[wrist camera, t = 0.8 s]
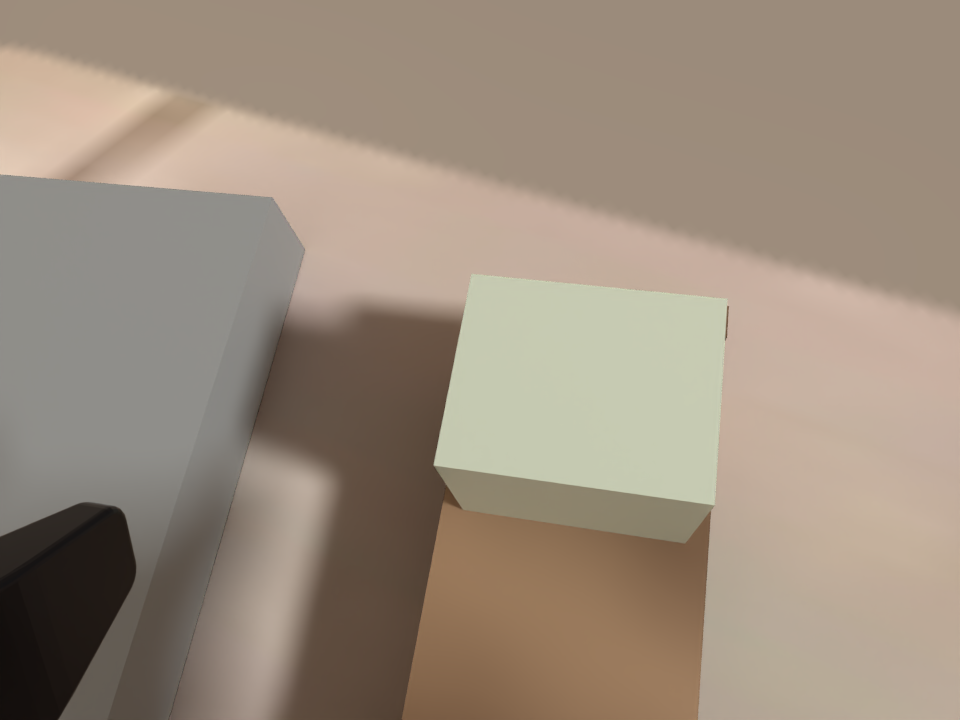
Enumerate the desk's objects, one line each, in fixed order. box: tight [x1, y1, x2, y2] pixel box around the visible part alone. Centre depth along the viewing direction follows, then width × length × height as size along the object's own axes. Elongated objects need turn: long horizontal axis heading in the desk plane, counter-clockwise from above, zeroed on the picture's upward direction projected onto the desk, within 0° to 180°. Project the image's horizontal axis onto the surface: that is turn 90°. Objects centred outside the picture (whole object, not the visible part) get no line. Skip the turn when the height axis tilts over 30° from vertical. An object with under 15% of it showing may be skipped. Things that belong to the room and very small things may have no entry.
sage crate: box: [434, 274, 728, 543], centre depth 16 cm, size 4×5×4 cm
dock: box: [0, 175, 305, 720], centre depth 21 cm, size 22×10×3 cm, turn 170°
